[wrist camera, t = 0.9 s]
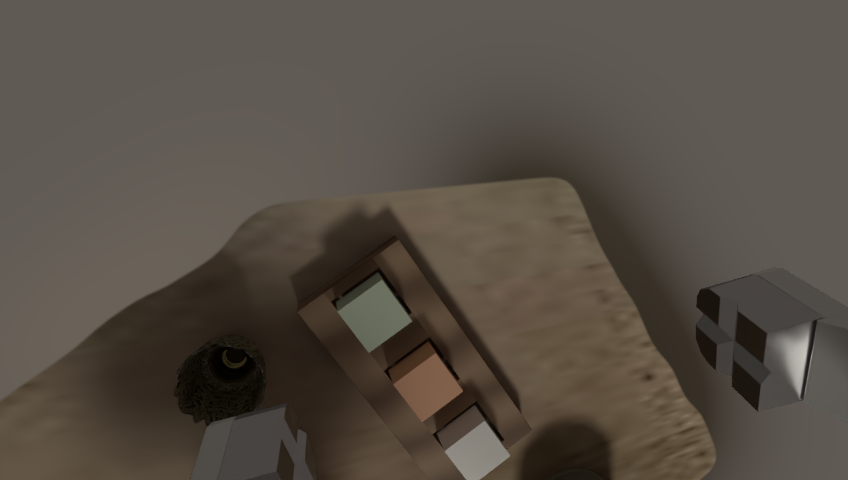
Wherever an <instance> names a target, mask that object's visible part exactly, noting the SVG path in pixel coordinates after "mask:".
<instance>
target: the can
mask: <svg viewBox="0 0 848 480" xmlns="http://www.w3.org/2000/svg"><path fill="white" fill-rule="evenodd" d="M545 480H604V479H603V478H602V477H601V476H599V475H598V474H597V473H595V472H593V471H591V470H588V469H583V468H570V469H565V470H562V471H559V472H557V473H555V474H553V475H551V476H549V477H548V478H547V479H545Z"/></svg>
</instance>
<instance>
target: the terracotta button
mask: <svg viewBox="0 0 848 480" xmlns="http://www.w3.org/2000/svg"><path fill="white" fill-rule="evenodd" d="M389 373H390V376H391V379H392V383H393V385H394V386H395V388H396V389H397V390H398V391H399V393H400V394H401V395H402V397H403V398H404V399H405V401H406V402H407V403H408V405H409V406H410V407H411V408H412V410H413V411H414V412H415V414H416V415H417V416H418V418H419V419H420V420H421V421H422V422H423V421H425V420H426V419H427V418H429V417H430V416H431V415H433V414H434V413H435V412H437V411H438V410H439V409H441V408H442V407H443V406H445V405H446V404H447V403H449V402H450V401H451V400H452V399H454V398H455V397H456V396H458V395H459V394H460V393H462V392H463V390H462V388H461V387H460V385H459V384H458V382H457V380H456V379H455V377H454V376H453V375H452V373H451V372H450V370H449V369H448V368H447V366H446V365H445V364H444V362H443V361H442V359H441V358H440V357H439V355H438V354H437V353H436V351H435V350H434V348H433V347H432V346H431V344H430V343H429V342H428V341H427V342H426V343H425V344H423V345H422V346H421V347H419V348H418V349H417V350H415V351H414V352H413V353H411V354H410V355H408V356H407V357H406V358H404V359H403V360H402V361H400V362H399V363H398V364H396V365H395V366H394V367H392V368H391V369H389Z"/></svg>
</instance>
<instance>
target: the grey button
mask: <svg viewBox="0 0 848 480" xmlns="http://www.w3.org/2000/svg"><path fill="white" fill-rule="evenodd" d="M437 435H438V437H439V440H440V442H441V444H442V447H443V449H444V451H445V453H446V454H447V455H448V457H449V458H450V459H451V460H452V462H453V463H454V464H455V466H456V467H457V468H458V470H459V471H460V472H461V474H462V475H463V476H464V477H465V479H466V480H480V479H481V478H482V477H484V476H485V475H486V474H488V473H489V472H490V471H492V470H493V469H494V468H495V467H497V466H498V465H499V464H501V463H502V462H503V461H504V460H506V459H507V458H508V457H510V454H509V453H508V451H507V450H506V448H505V447H504V445H503V444H502V442H501V441H500V439H499V438H498V436H497V435H496V434H495V432H494V431H493V429H492V428H491V427H490V425H489V424H488V423H487V421H486V420H485V418H484V417H483V416H482V414H481V413H480V412H479V410H478V409H477V407H476V406H475V405H474V406H472V407H471V408H470V409H468V410H467V411H466V412H464V413H463V414H462V415H460V416H459V417H458V418H456V419H455V420H454V421H452V422H451V423H450V424H448V425H447V426H446V427H444V428H443V429H442V430H440V431H439V432H438V433H437Z"/></svg>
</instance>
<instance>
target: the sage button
mask: <svg viewBox="0 0 848 480" xmlns="http://www.w3.org/2000/svg"><path fill="white" fill-rule="evenodd" d="M336 304H337V312H338V313H339V315H340V316H341V317H342V319H343V320H344V321H345V322H346V324H347V325H348V326H349V328H350V329H351V330H352V332H353V333H354V334H355V336H356V337H357V338H358V339H359V341H360V342H361V343H362V345H363V346H364V347H365V349H366V350H367V351H368V352H369V353H370V352H371V351H372V350H374V349H375V348H376V347H378V346H379V345H381V344H382V343H383V342H385V341H386V340H387V339H389V338H390V337H391V336H393V335H394V334H396V333H397V332H398V331H400V330H401V329H402V328H404V327H405V326H406V325H408V324H409V323H411V322H412V320H411V318H410V316H409V315H408V313H407V311H406V310H405V309H404V307H403V306H402V304H401V303H400V302H399V300H398V299H397V298H396V296H395V295H394V293H393V292H392V291H391V289H390V288H389V287H388V285H387V284H386V282H385V281H384V280H383V278H382V277H381V276H380V274H379V273H378V272H377V273H376V274H375V275H373V276H372V277H370V278H369V279H368V280H366V281H365V282H363V283H362V284H361V285H359V286H358V287H356V288H355V289H354V290H352V291H351V292H349V293H348V294H347V295H345V296H344V297H343V298H341V299H340V300H338V301H337V302H336Z"/></svg>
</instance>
